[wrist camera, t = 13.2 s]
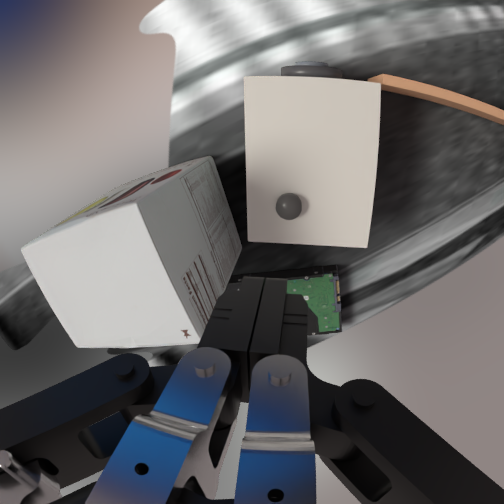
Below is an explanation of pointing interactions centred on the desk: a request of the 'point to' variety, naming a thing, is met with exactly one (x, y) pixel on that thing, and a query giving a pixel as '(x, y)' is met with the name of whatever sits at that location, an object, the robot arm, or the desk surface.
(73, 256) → the supplement box
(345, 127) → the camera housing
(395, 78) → the door
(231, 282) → the disk drive
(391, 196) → the desk surface
